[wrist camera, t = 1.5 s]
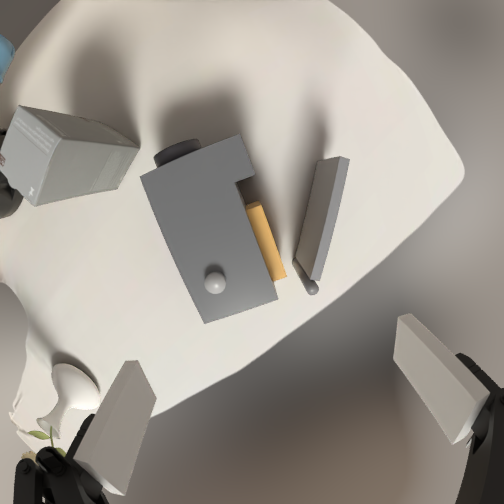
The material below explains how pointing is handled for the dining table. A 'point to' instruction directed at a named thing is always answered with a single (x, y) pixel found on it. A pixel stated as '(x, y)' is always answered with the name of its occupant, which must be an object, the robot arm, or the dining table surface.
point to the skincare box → (62, 156)
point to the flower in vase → (66, 401)
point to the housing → (216, 227)
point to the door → (321, 215)
